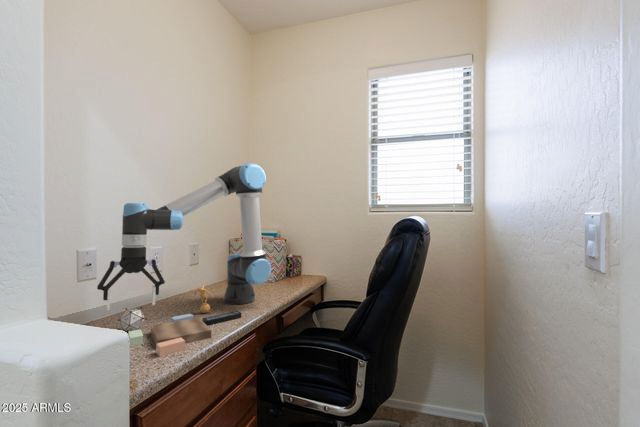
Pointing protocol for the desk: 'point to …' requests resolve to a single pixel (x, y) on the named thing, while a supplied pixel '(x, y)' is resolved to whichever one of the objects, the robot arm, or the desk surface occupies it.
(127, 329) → the game die
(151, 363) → the desk surface
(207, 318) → the multiport hub
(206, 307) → the figurine
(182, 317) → the slate brick
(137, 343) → the sage brick
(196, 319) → the walnut board
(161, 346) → the terracotta brick
